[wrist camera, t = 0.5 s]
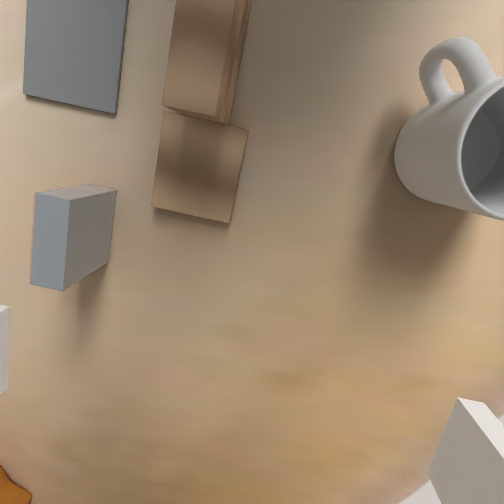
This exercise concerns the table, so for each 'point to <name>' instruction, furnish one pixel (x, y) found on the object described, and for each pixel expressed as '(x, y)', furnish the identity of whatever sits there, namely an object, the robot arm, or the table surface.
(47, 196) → the tile
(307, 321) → the table surface
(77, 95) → the pad
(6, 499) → the coffee package
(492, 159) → the mug
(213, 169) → the stepped wooden block
